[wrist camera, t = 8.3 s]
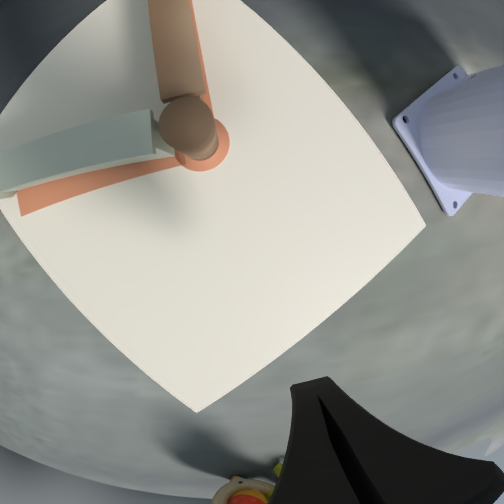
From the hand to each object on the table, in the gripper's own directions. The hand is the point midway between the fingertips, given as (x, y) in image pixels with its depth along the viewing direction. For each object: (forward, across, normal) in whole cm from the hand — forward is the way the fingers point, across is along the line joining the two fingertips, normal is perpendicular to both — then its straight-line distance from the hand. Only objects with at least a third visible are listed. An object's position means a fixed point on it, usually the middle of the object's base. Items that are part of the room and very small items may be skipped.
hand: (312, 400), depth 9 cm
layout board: (+9, +5, -9) cm, 14 cm away
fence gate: (+8, +10, -11) cm, 17 cm away
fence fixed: (+9, +3, -17) cm, 19 cm away
